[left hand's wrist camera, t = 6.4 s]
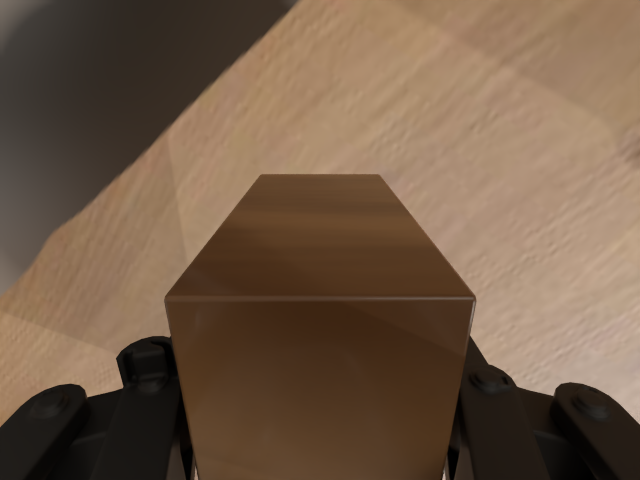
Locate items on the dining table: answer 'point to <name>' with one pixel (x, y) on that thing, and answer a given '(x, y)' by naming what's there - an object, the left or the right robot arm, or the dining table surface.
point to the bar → (320, 336)
